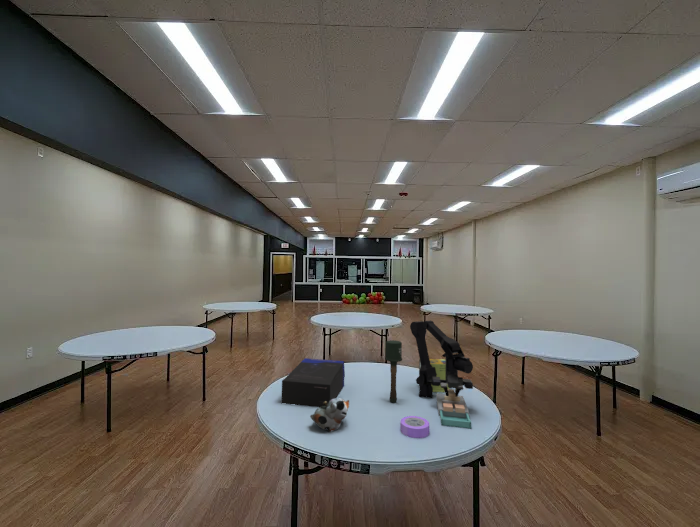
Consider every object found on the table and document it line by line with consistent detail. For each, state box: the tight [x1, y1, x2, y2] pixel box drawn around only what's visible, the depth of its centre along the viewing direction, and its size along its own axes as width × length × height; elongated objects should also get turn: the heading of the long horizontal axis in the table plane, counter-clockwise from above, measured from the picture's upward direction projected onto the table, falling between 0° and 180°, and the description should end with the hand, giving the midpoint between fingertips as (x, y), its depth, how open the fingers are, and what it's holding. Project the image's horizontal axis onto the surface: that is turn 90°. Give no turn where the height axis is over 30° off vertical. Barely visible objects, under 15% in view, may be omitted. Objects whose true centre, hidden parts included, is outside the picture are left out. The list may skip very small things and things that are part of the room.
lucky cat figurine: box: [309, 397, 350, 433], centre depth 132 cm, size 15×12×14 cm
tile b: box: [455, 404, 465, 413], centre depth 141 cm, size 4×4×2 cm
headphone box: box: [280, 358, 346, 408], centre depth 168 cm, size 25×35×14 cm
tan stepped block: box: [442, 388, 466, 409], centre depth 150 cm, size 10×12×4 cm
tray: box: [439, 411, 472, 430], centre depth 136 cm, size 12×9×3 cm
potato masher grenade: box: [385, 339, 403, 404], centre depth 158 cm, size 8×9×30 cm
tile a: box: [443, 403, 453, 412], centre depth 142 cm, size 4×4×2 cm
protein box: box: [418, 358, 451, 393], centre depth 178 cm, size 10×15×16 cm
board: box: [435, 392, 470, 418], centre depth 151 cm, size 13×20×3 cm, turn 168°
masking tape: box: [399, 415, 430, 439], centre depth 128 cm, size 12×12×4 cm
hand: (451, 400), depth 151 cm, fingers closed on tan stepped block, 3 cm apart
